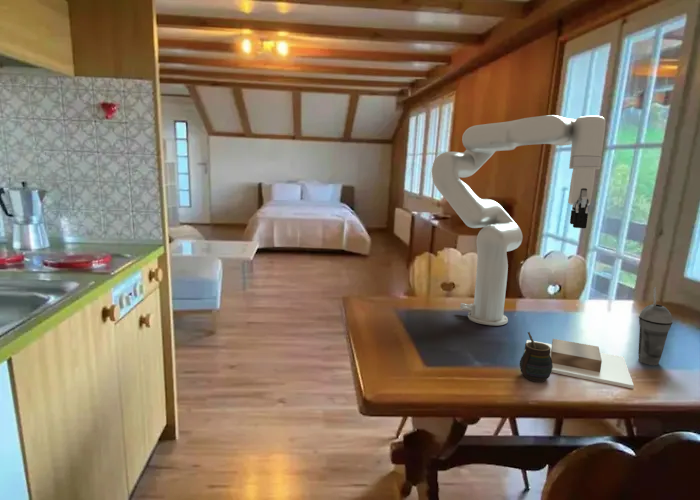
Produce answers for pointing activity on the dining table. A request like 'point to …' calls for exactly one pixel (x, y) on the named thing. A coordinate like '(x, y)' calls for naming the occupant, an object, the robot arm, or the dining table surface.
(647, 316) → the beverage cup
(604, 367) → the board
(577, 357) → the walnut plinth
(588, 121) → the robot arm
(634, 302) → the dining table surface
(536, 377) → the mate gourd
